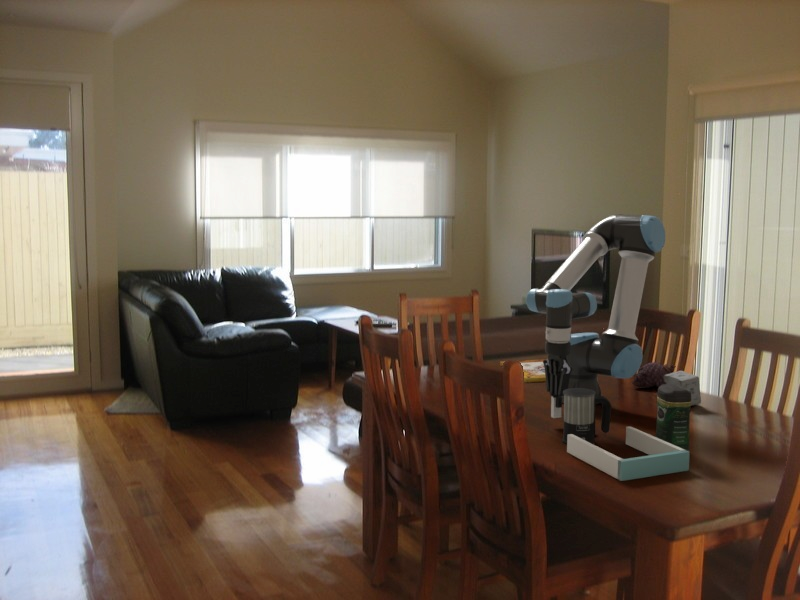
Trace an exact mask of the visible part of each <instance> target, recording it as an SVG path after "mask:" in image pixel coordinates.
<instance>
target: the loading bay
mask: <svg viewBox="0 0 800 600" xmlns="http://www.w3.org/2000/svg"><path fill="white" fill-rule="evenodd" d="M625 445H627V446H629V447H632V448H634V449H635V450H637V451H640V452H642V453H644V454H647V455H642V456H637V457H636V456H635V457H629V458H622V457H620V456H619V455H618V456H617V455H615V454H614V453H611V452H610V451H607V450H605V449H603V448H601V447H599V446H597V445H595V444H591V443H589V442H587V441H585V440H583V439H581V438H579V437H577V436H575V435H573V434H568V435H567V444H566V453H568V454H570V455H571V456H574V457H575V458H577V459H579V460H581V461H583V462H584V463H586V464H588V465H591V466H592V467H594V468H596V469H598V470H599V471H601V472H604V473H605V474H607V475H609V476H611V477H612V478H615V479H617V480H618V481H620V482H622V481H623V482H624V481H631V480H636V479H643V478H648V477H649V478H650V477H656V476H661V475H668V474H674V473H680V472H688V471H689V469H690V450H689V451H687V450H685V449H682V448H680V447H678V446H675V445H673V444H671V443H668V442H666V441H664V440H661V439H659V438H657V437H656V436H654V435H652V434H650V433H648V432H644V431H642V430H640V429H637V428H635V427H633V426H625Z"/></svg>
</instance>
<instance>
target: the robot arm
mask: <svg viewBox="0 0 800 600" xmlns="http://www.w3.org/2000/svg"><path fill="white" fill-rule="evenodd" d="M665 243H666V230H665V226H664V224H663V222H662V220H661V219H660V218H658V216H654V215H648V214H612V215H610V216H607V217H604V218H603V219H601V220H599V221H598V222H597V223H595V224H594V225H593V226H591V227H590V228H589V229H588V230H587V231H586V232H585V233H584V235H583V236H582V240H581V242H580V244H579V245H578V246H577V247H576V248H575V249H574V250H573V251H572V252H571V254H570V255H569V256H568V257H567V258H566V259H565V261H564V262H563V263H561V265H560V266H559V267H558V268H557V269H556V271H554V273H553V274H552V276H551V277H550V278H549V279H548V280H547V281H546V282H545V283H544V285H542V287H541V288H539V287H536V288H532V289H530V290H528V292H527V294H526V297H525V303H526V307H527V308H528V310H529V311H531V312H535V313H539V314H545V315H546V317H545V318H546V320H545V340H546V341H545V344H544V345H545V346H544V347H545V348H544V352H545V354H547V358H546V359H547V360H544V359H542V360H543V364H544V367H545V376H546V381H545V385H546V392H547V393H549V395H550V417H551V418H553V419H557V418H559V419H560V418H562V407H563V404H564V394H563V391H564V390H566V389H571V388H584V389H590V390H593V391H595V392H596V393H595V394H594V395H602V396H603V393H602V391H601V390H602V389H601V386H600V383H599V381H598V375H602V376H606V377H612V378H614V379H626V380H627V379H630V378H632V377H634V375H636V374H637V373H638V371H639V369H640V368H641V365H642V363H643V358H644V357H643V356H644V354H643V349H642V347H641V346H640V345H639V344H638V343H639V339H638V337H637V336H636V329H637V324H638V318H639V313H640V309H641V304H642V303H641V302H642V297H643V292H644V288H645V281H646V277H647V272H648V267H649V263H650V262H652V261H653V260H654V259H655V257H656V253H659V252H661V251H662V250H663V248H664V247H665V245H666V244H665ZM611 250H618V252H617V253H618V255H619V256H620V257H621V261H620V265H619V266H620V267H619V272H618V276H617V281H616V287H615V291H614V298H613V303H612V307H611V313H610V318H609V322H608V326H607V327H608V328H607V329H606V330H605V331H603V332H602V333H601V338H600V335H599V333H597V332H581V333H580V332H578V333H572V320H575V319H581V318H583V319H585V318H587V317H590V316H592V315H594V314H595V312H596V311H597V309H598V301H597V298H596V297H595V296H594V295H593V294H592V293H590V292H583V291H581V292H578V293H577V292H572V291H571V290H572V289H573V288H574V286H575V285H577V284H578V282H579V281H580V279H582V277H583V276H584V275H585V274H586V273H587V271H589V269H590V268H591V267H592V266H593V264H594V263H595V262H596V261H597V260H598V259H599V257H602V256H605V255H606V254H607V253H608V252H609V251H611ZM599 404H600V403H595V406H596V405H599Z"/></svg>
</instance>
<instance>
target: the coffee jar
mask: <svg viewBox="0 0 800 600" xmlns="http://www.w3.org/2000/svg"><path fill="white" fill-rule="evenodd" d="M656 400H657V411H656V412H657V416H656V428H655V429H656V430H655V437H657V438H659V439H661V440H664V441H666V442H668V443H671V444H673V445H675V446H678V447H680V448H682V449H685V450H687V451H689V452H690V422H691V421H690V420H691V419H690V417H691V416H690V415H691V392H690V391H688V390H686V389H684V388H682V387H680V386H677V385H676V384H662V385H661V386H660V387H657V396H656Z"/></svg>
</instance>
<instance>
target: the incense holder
mask: <svg viewBox="0 0 800 600" xmlns="http://www.w3.org/2000/svg"><path fill="white" fill-rule="evenodd" d="M664 381H665V382H666V383H667V384H676V385H677V386H680V387H682V388H684V389H686V390H688V391H690V392H691V406H696V405H700V404H701V403H702V399H701V387H700V386H701V385H700V384H701V383H700V377H699V375H695V374H692V373H689V372H686V371H684V370H678V371H675V372H674V371H673V373H670V374H667V375H664Z"/></svg>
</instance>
